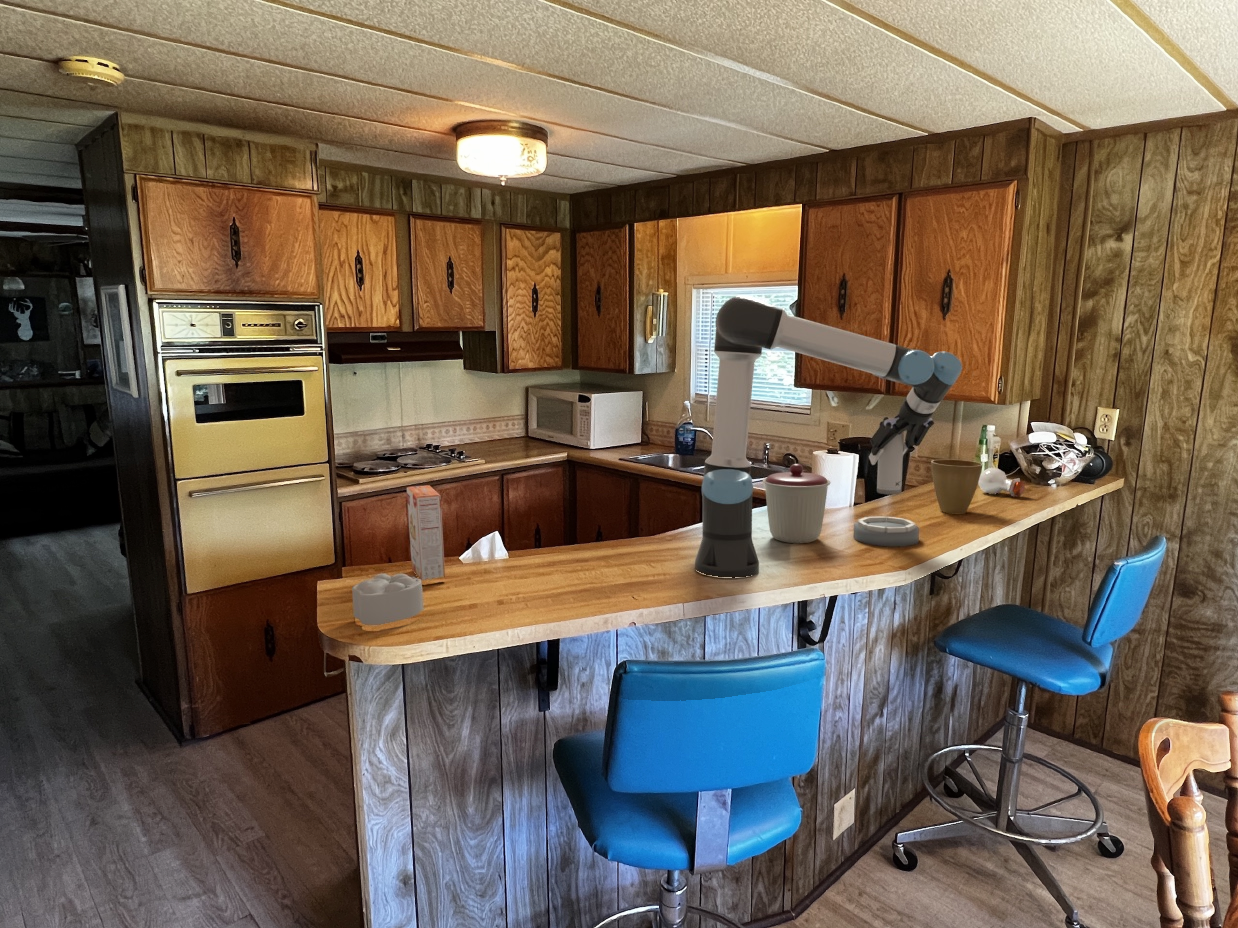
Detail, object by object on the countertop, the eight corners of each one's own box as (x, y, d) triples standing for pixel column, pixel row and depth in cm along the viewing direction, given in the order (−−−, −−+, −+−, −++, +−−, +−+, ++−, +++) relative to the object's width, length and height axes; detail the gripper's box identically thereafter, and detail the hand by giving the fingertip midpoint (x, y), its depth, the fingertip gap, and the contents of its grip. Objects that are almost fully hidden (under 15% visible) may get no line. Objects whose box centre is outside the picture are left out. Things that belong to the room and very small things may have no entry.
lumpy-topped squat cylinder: (350, 619, 153) (347, 577, 152) (412, 606, 161) (410, 566, 159) (367, 634, 145) (364, 590, 144) (432, 619, 152) (430, 577, 151)
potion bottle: (979, 494, 279) (1018, 506, 267) (968, 482, 274) (1008, 493, 262) (991, 473, 280) (1031, 483, 268) (981, 460, 275) (1021, 470, 263)
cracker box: (410, 571, 186) (405, 486, 183) (435, 568, 189) (431, 484, 186) (419, 586, 174) (414, 496, 171) (446, 583, 176) (441, 493, 173)
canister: (750, 534, 218) (751, 461, 215) (806, 529, 224) (807, 457, 221) (782, 550, 201) (784, 470, 198) (842, 543, 207) (844, 466, 204)
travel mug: (904, 494, 204) (907, 420, 202) (878, 494, 206) (880, 419, 203) (900, 490, 210) (903, 418, 208) (875, 490, 212) (878, 418, 209)
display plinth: (866, 547, 203) (867, 529, 202) (844, 532, 219) (845, 516, 219) (929, 545, 203) (930, 528, 203) (903, 530, 220) (903, 514, 220)
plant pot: (949, 518, 236) (951, 466, 233) (919, 508, 250) (921, 460, 248) (990, 515, 239) (993, 464, 237) (959, 506, 254) (961, 458, 251)
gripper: (891, 416, 188) (855, 472, 206) (960, 414, 192) (919, 469, 210) (880, 394, 193) (846, 450, 211) (948, 392, 197) (909, 448, 215)
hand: (883, 460), depth 211 cm, fingers closed on travel mug, 6 cm apart
